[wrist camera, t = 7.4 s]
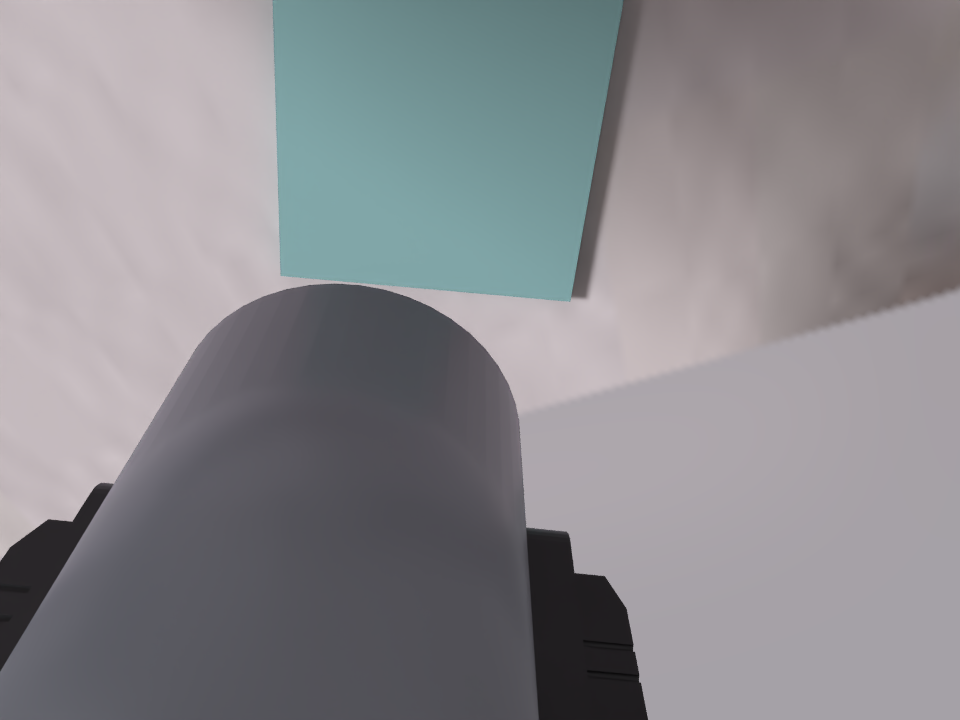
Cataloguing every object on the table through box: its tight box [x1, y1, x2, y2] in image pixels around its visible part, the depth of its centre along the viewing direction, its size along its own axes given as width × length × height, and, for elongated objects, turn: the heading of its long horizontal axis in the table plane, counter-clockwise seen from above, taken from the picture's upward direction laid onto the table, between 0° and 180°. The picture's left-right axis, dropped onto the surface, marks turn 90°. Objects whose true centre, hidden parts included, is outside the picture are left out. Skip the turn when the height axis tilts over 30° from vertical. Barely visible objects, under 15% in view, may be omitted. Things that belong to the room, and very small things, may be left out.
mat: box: [273, 0, 624, 302], centre depth 23 cm, size 9×9×1 cm
